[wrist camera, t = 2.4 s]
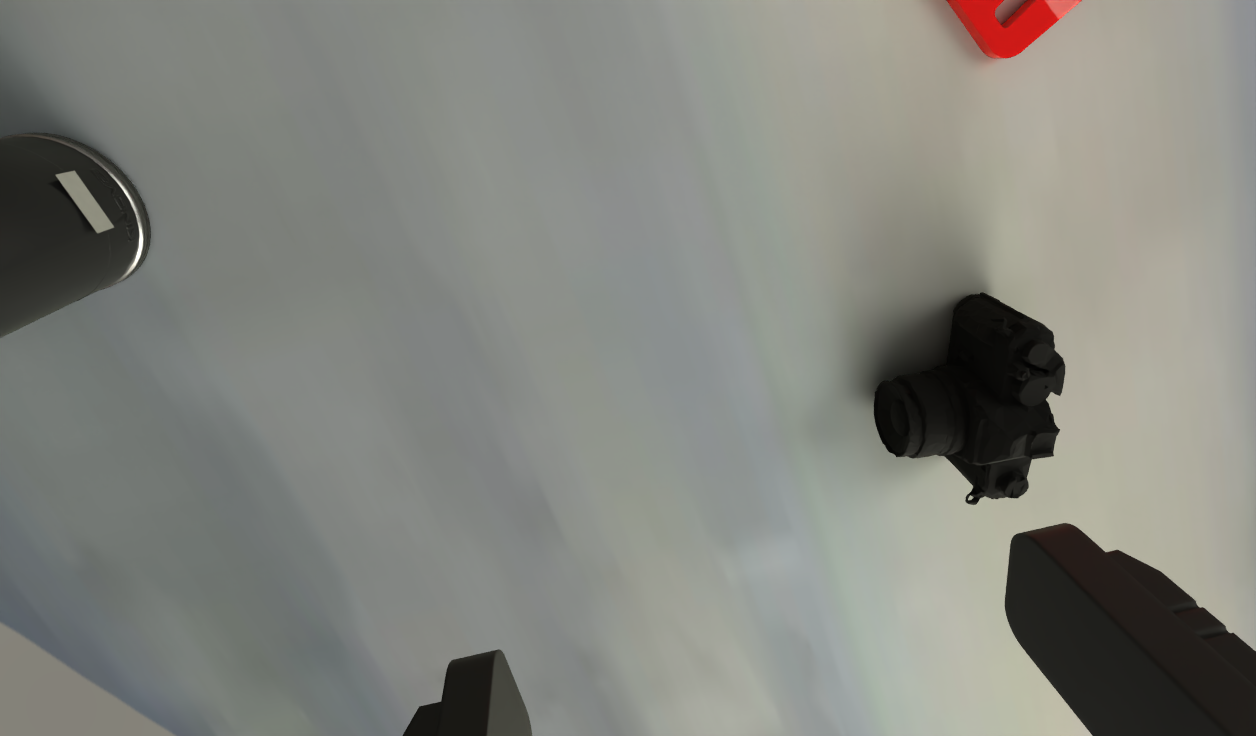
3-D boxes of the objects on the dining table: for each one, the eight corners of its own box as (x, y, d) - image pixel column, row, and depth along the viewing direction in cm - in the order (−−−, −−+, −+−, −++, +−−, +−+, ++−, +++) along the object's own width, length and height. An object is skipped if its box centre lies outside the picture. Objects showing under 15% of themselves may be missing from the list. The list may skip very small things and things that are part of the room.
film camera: (879, 300, 47) (944, 349, 39) (1006, 285, 48) (1097, 330, 40) (864, 471, 54) (918, 543, 46) (976, 456, 54) (1049, 525, 46)
